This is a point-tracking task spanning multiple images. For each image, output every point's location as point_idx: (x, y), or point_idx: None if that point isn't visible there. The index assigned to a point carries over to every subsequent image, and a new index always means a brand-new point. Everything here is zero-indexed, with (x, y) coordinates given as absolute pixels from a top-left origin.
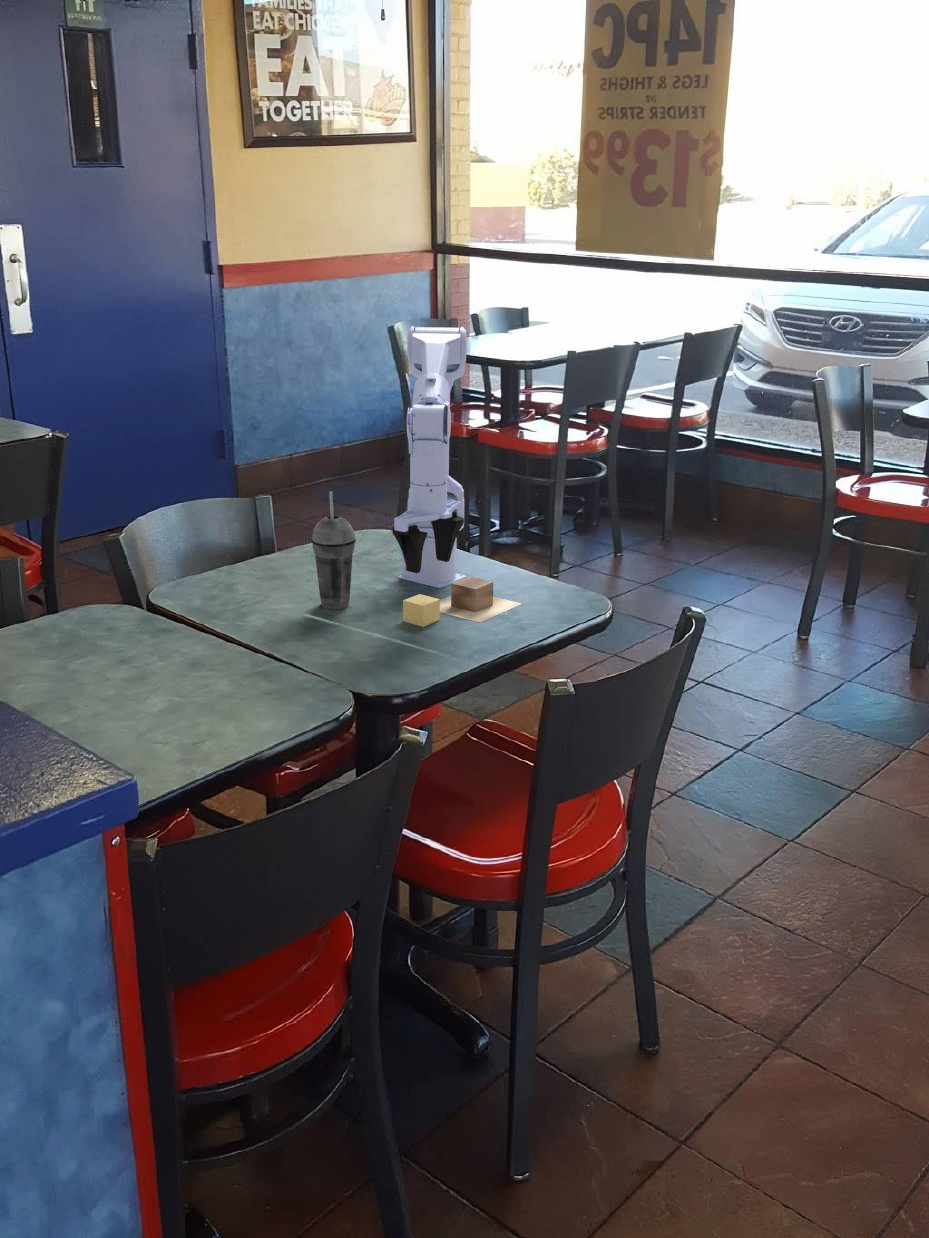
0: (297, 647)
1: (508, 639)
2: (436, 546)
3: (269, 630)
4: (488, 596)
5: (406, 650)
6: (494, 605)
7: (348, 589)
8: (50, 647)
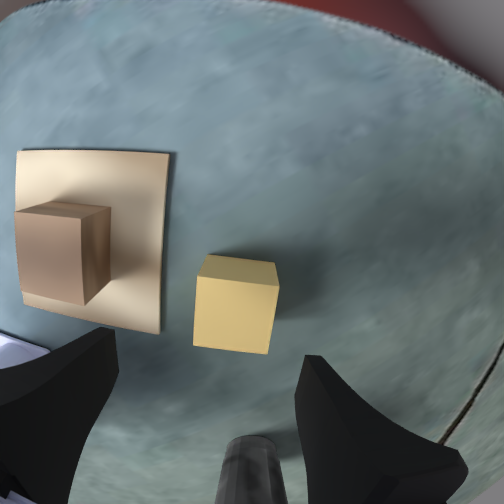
0: (449, 385)
1: (227, 43)
2: (97, 410)
3: None
4: (50, 207)
5: (413, 223)
6: (51, 195)
7: (248, 463)
8: (466, 496)
